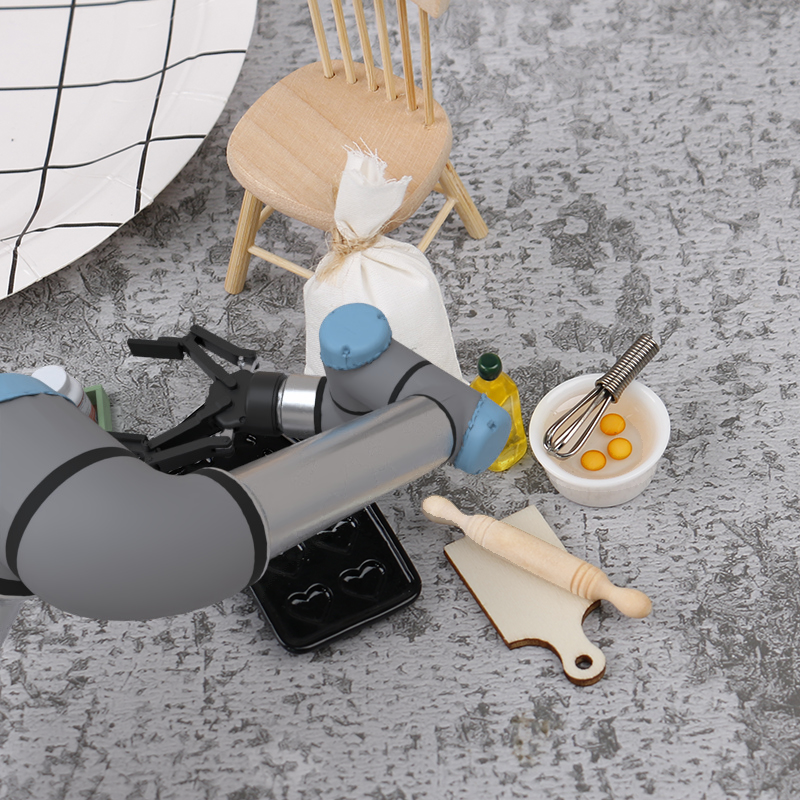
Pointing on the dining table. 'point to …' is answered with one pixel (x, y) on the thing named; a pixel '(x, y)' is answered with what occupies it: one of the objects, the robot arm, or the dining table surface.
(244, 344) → the dining table surface
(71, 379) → the pill bottle
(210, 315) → the dining table surface
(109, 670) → the dining table surface
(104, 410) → the holder
